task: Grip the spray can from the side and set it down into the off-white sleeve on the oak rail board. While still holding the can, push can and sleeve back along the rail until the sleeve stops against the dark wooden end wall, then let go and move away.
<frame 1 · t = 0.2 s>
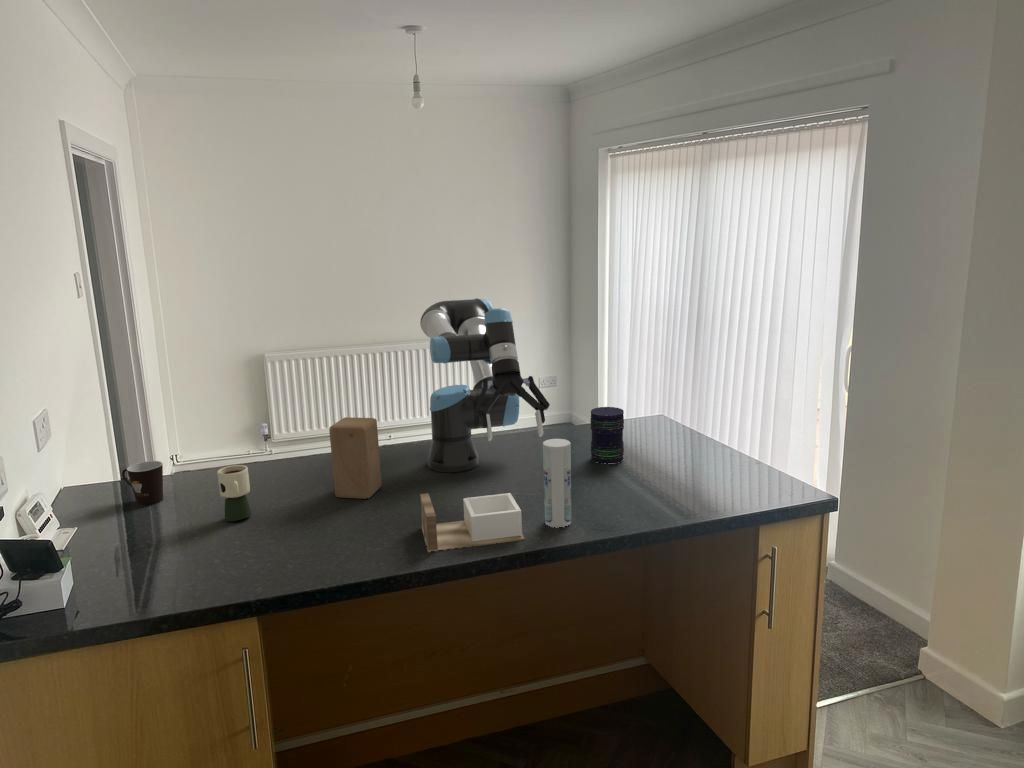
hand: (516, 437, 191), 16 cm above the worktop, tool tilted 35°, fingers open, 13 cm apart
coffee mug: (148, 500, 199), on the worktop
sleeve: (492, 516, 171), point 4 cm above the worktop, slide at 0.0 cm
wooden block: (359, 493, 199), on the worktop
spray can: (558, 523, 176), on the worktop
storage jar: (607, 459, 219), on the worktop
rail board: (471, 533, 171), on the worktop
character mug: (238, 519, 184), on the worktop
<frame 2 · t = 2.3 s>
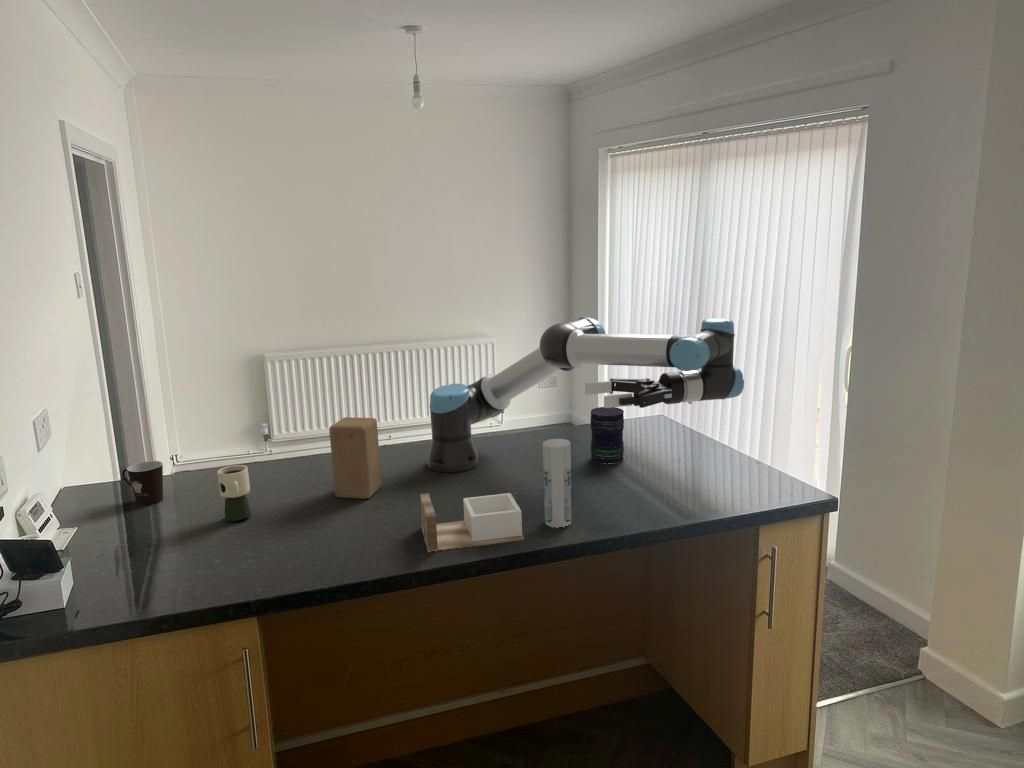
hand: (594, 395, 171), 31 cm above the worktop, tool horizontal, fingers open, 13 cm apart
nothing on the worktop moved.
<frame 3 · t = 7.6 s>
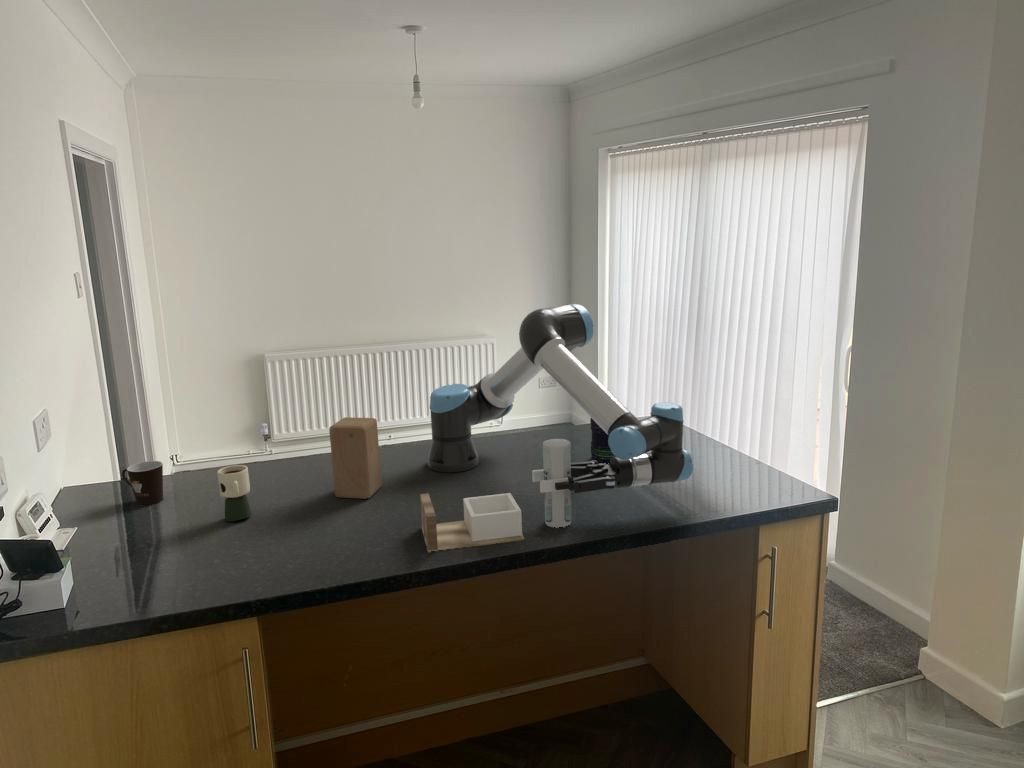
hand: (536, 481, 172), 11 cm above the worktop, tool horizontal, fingers closed on spray can, 6 cm apart
spray can: (558, 523, 175), on the worktop, touching gripper
everything else where it was.
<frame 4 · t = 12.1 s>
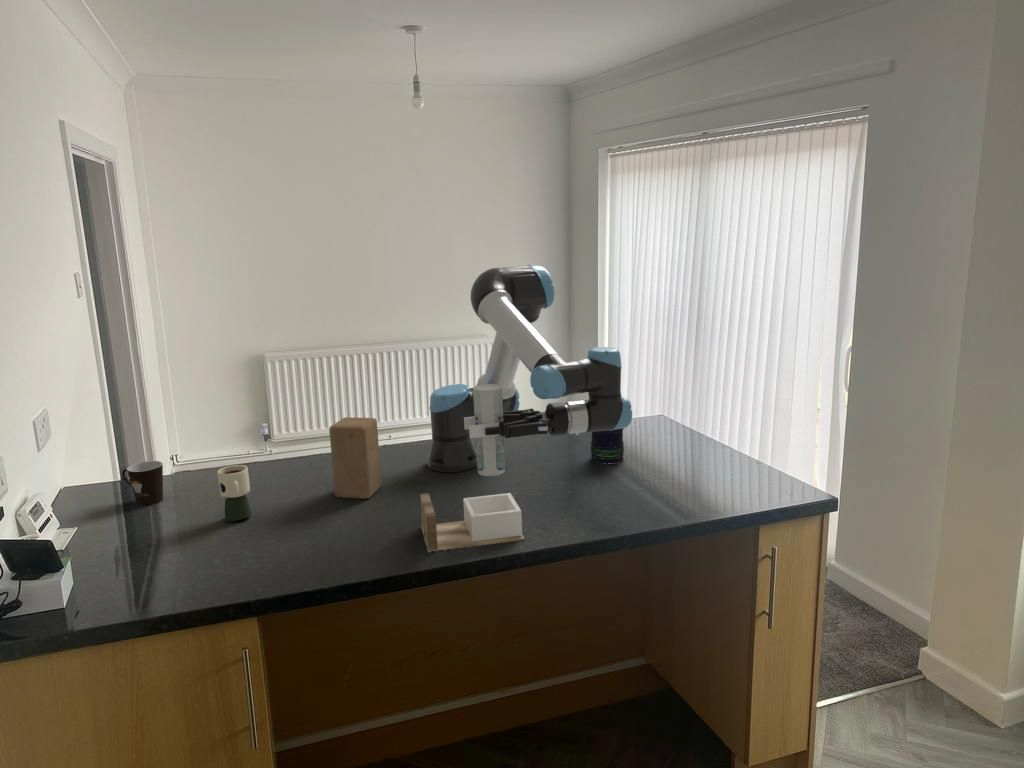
hand: (467, 427, 165), 26 cm above the worktop, tool horizontal, fingers closed on spray can, 6 cm apart
spray can: (491, 472, 168), point 15 cm above the worktop, touching gripper
everything else where it was.
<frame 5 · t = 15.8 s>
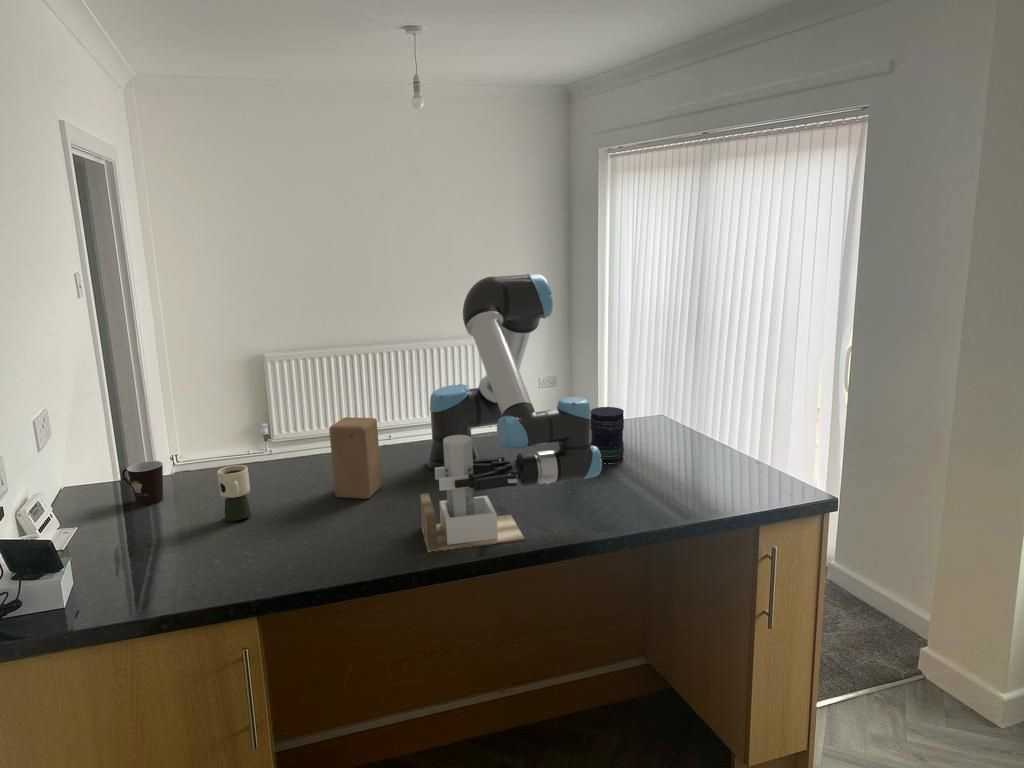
hand: (437, 479, 166), 14 cm above the worktop, tool horizontal, fingers closed on spray can, 6 cm apart
sleeve: (467, 519, 170), point 4 cm above the worktop, slide at 5.7 cm
spray can: (461, 522, 170), point 3 cm above the worktop, touching gripper
everything else where it was.
when the fingers open (14 cm above the worktop, at t = 16.7 s): spray can drops 2 cm, resting on sleeve.
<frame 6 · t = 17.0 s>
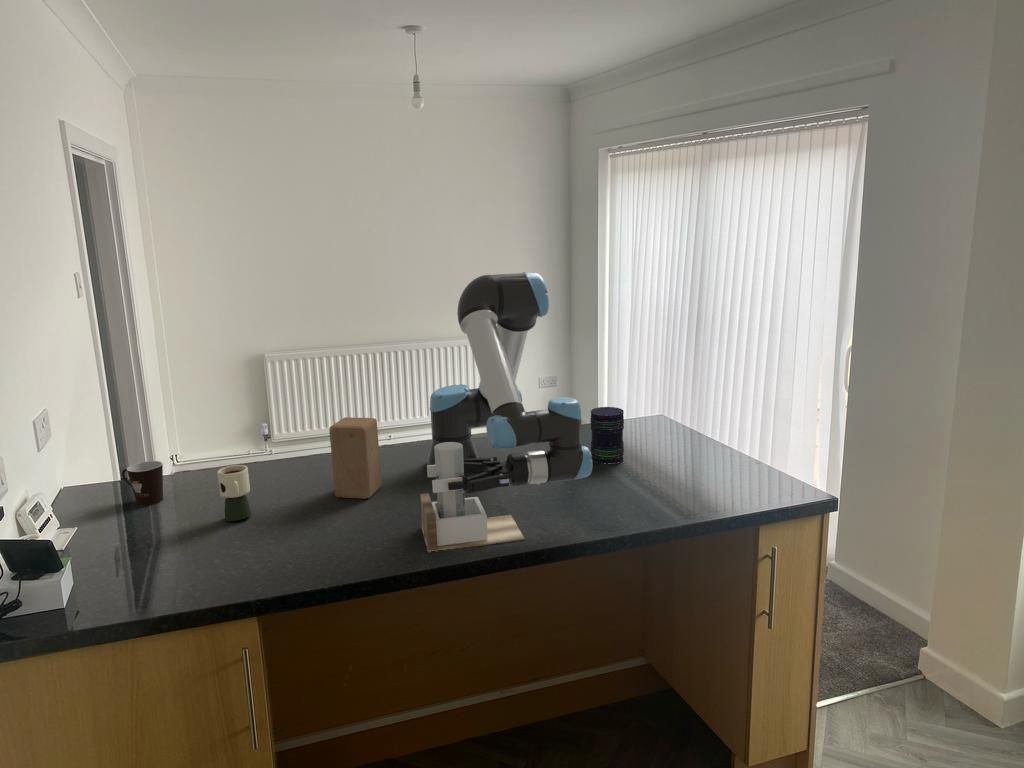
hand: (429, 478, 166), 14 cm above the worktop, tool horizontal, fingers open, 9 cm apart
sleeve: (458, 520, 170), point 4 cm above the worktop, slide at 8.0 cm, touching spray can
spray can: (452, 529, 170), point 1 cm above the worktop, touching sleeve
everything else where it was.
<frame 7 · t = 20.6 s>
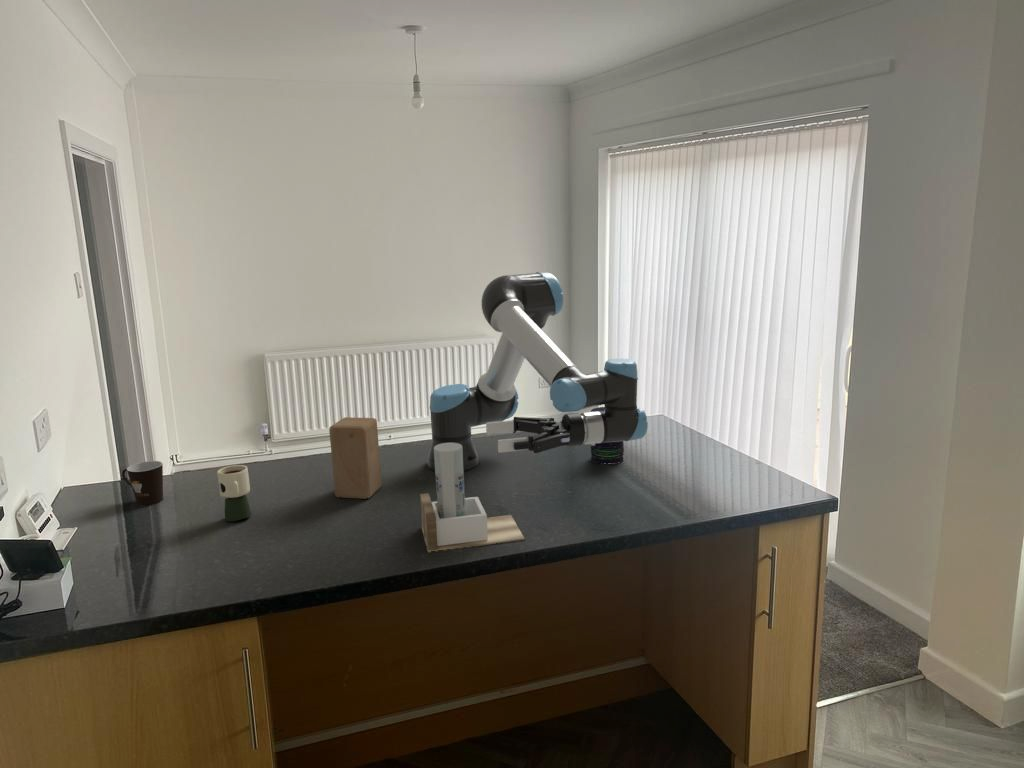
hand: (491, 437, 167), 23 cm above the worktop, tool horizontal, fingers open, 13 cm apart
nothing on the worktop moved.
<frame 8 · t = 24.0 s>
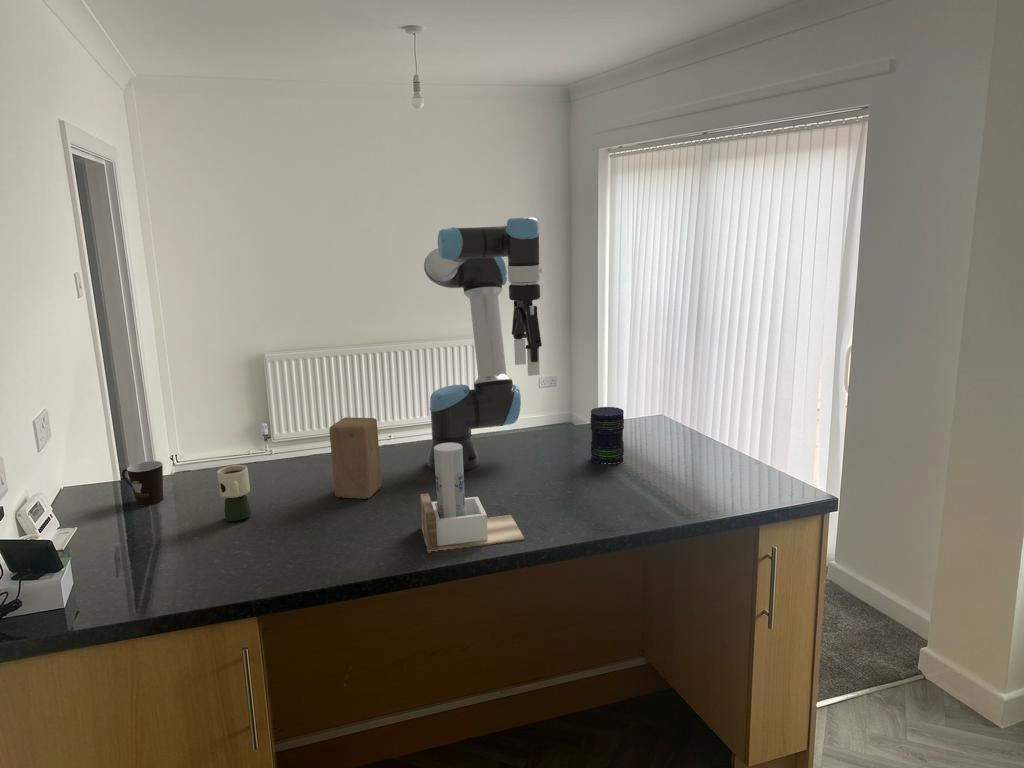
hand: (526, 369, 181), 35 cm above the worktop, tool pointing down, fingers open, 13 cm apart
nothing on the worktop moved.
at the end: sleeve slide at 8.0 cm; spray can inside the target area (0.4 cm from its centre), point 1.4 cm above the worktop; spray can tilted 0° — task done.
